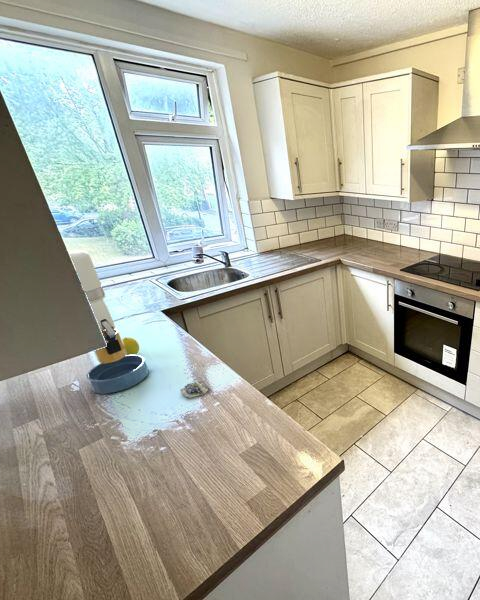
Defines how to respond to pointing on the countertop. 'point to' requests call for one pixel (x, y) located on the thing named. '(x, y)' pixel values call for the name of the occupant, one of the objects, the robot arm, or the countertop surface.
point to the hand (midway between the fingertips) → (109, 348)
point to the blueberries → (194, 389)
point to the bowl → (117, 374)
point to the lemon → (131, 346)
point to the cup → (106, 358)
